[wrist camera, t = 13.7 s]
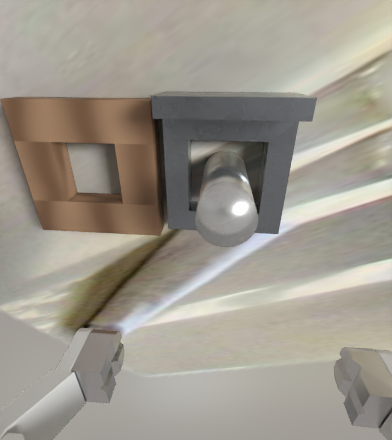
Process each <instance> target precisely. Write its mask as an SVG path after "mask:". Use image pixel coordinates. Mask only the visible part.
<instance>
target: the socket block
mask: <svg viewBox="0 0 392 440" xmlns="http://www.w3.org/2000/svg"><path fill="white" fill-rule="evenodd" d="M1 102H2V106H3V109H4V112H5V115H6V118H7V121H8V124H9V127H10V130H11V133H12V136H13V139H14V142H15V145H16V148H17V151H18V154H19V158H20V161H21V164H22V167H23V170H24V173H25V176H26V179H27V182H28V185H29V188H30V191H31V194H32V197H33V200H34V203H35V207H36V210H37V213H38V216H39V219H40V222H41V225H42V228H43V230H61V231H80V232H100V233H119V234H138V235H157V236H160V235H161V232H162V230H163V227H164V210H163V195H162V179H161V163H160V147H159V132H158V119H153V114H152V100H151V98H66V97H14V98H4V99H1ZM66 142H68V143H108V144H115V151H116V158H117V165H118V172H119V179H120V186H121V193H122V194H98V193H77V189H76V185H75V181H74V176H73V172H72V168H71V163H70V159H69V155H68V151H67V146H66Z"/></svg>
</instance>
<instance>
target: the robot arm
mask: <svg viewBox="0 0 392 440" xmlns="http://www.w3.org/2000/svg"><path fill="white" fill-rule="evenodd" d="M121 338H122V336H121V332H120V331H109V330H98V329H87V328H80V329H79V330H78V331H77V332H76V334H75V335H74V337H73V339H72V341H71V343H70V344H69V346H68V348H67V350H66V352H65V353H64V355H63V357H62V359H61V360H60V362H59V364H58V366H57V368H56V369H55V370H50V371H49V372H48V373H46V374H45V375H44V376H43V377H41V378H40V379H39V380H37V381H36V382H35V383H34V384H32V385H31V386H30V387H28V388H27V389H26V390H24V392H22V393H21V394H19V395H18V396H17V397H15V398H14V399H13V400H12V401H10V402H9V403H8V404H7V405H5V406H4V407H3V408H1V409H0V440H53V439H54V438H55V437H56V436H57V435H58V433H59V432H60V431H61V430H62V429H63V428H64V427H65V426H66V425H67V424H68V423H69V421H70V420H71V419H72V418H73V417H74V416H75V415H76V414H77V412H79V410H80V409H81V408H82V407H83V406H84V405H85V404H86V402H99V403H109V402H110V399H111V397H112V394H113V390H114V387H115V385H116V382H115V378H114V376H115V375H117V374H118V373H119V372H120V370H121V367H122V364H123V358H124V346H123V344H122V343H121V342H120V341H121ZM340 356H341V359H339V360H337V361H336V363H335V366H334V376H335V381H336V384H337V387H338V389H339V390H340V391H341V392H342V394H343V395H344V396H345V401H344V405H345V408H346V411H347V413H348V416H349V418H350V421H351V424H352V425H353V426H361V427H369V428H378V429H379V431H380V432H381V433H382V434H383V436H384V437H385V438H386V439H387V440H392V352H391V351H388V350H374V349H366V348H348V347H344V348H342V349H341V351H340Z"/></svg>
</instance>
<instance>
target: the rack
mask: <svg viewBox="0 0 392 440" xmlns="http://www.w3.org/2000/svg"><path fill="white" fill-rule="evenodd" d="M151 100H152V114H153V119H162V122H163V140H164V158H165V176H166V195H167V213H168V229H188V230H197V228H196V224H195V216H196V211H197V205H198V201H191V140H207V141H250V142H264V148H263V156H262V164H261V172H260V180H259V188H258V195H257V203H256V204H255V206H256V210H257V214H258V225H257V228H256V230H255V232H254V233H268V234H278V232H279V226H280V221H281V216H282V210H283V205H284V199H285V194H286V188H287V183H288V177H289V172H290V167H291V161H292V156H293V150H294V145H295V139H296V134H297V128H298V123H299V121H312V119H313V114H314V110H315V105H316V100H317V98H316V97H312V96H308V95H303V94H299V93H260V92H163V93H160V94H156V95H153V96H151Z"/></svg>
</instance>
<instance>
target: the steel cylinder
mask: <svg viewBox="0 0 392 440" xmlns="http://www.w3.org/2000/svg"><path fill="white" fill-rule="evenodd" d="M195 224H196V228H197V230H198V232H199V234H200V235H201V236H202V237H203V238H204V239H205V240H206V241H208V242H209V243H211V244H213V245H216V246H220V247H233V246H237V245H240V244H242V243H244V242H245V241H247V240H248V239H249V238H250V237H251V236H252V235H253V234H254V232H255V230H256V228H257V225H258V214H257V210H256V206H255V202H254V199H253V195H252V191H251V187H250V183H249V179H248V175H247V171H246V167H245V164H244V161H243V160H242V158H241V157H240V156H239V155H238V154H236V153H234V152H231V151H220V152H217V153H215V154H213V155H212V156H211V157H210V158H209V159H208V160H207V162H206V164H205V168H204V174H203V179H202V184H201V189H200V195H199V200H198V205H197V211H196V216H195Z"/></svg>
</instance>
